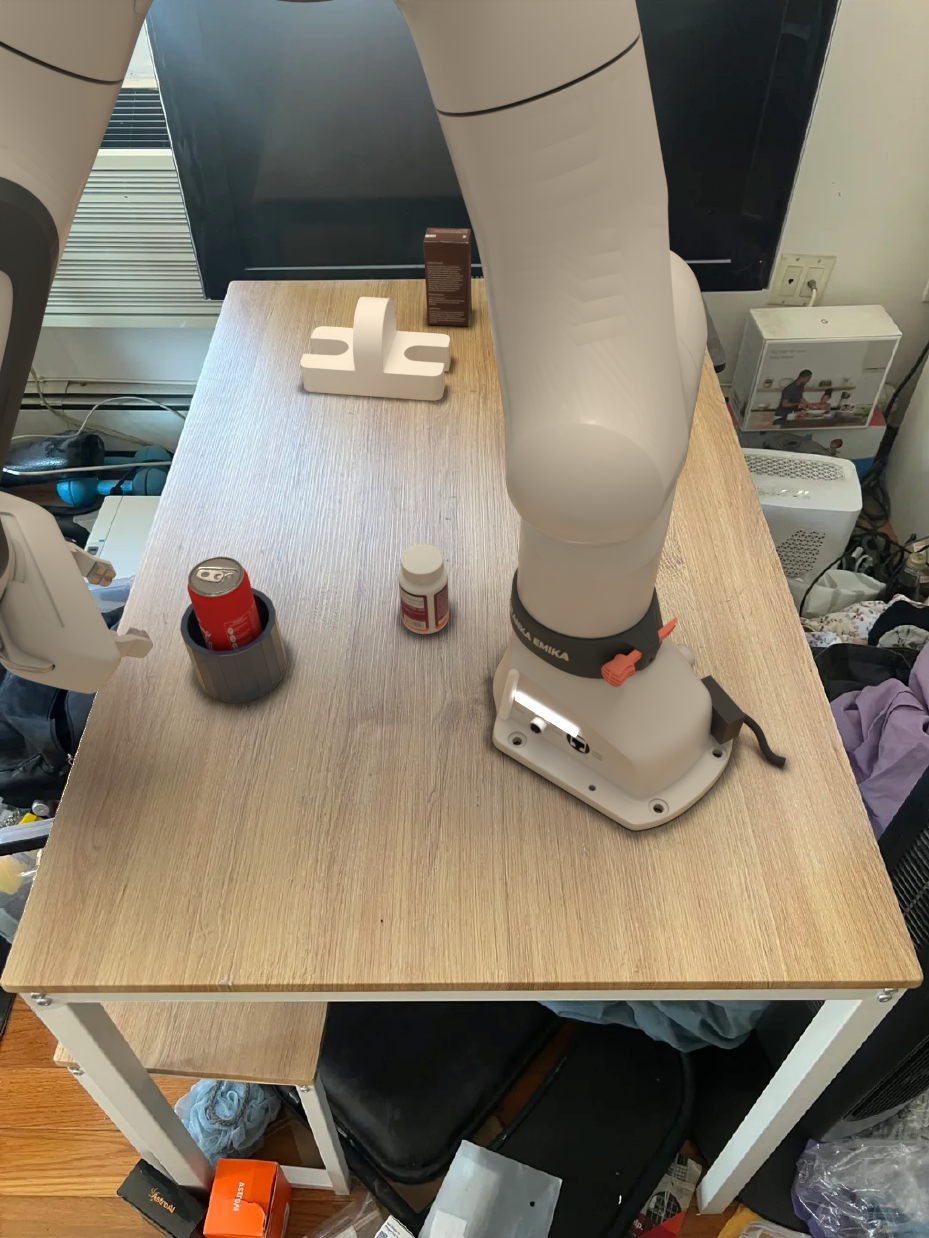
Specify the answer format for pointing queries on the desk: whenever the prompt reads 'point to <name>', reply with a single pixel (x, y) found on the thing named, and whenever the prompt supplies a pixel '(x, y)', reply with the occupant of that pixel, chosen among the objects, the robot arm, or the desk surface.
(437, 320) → the box
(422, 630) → the pill bottle
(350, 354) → the white u-slot block
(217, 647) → the beverage can
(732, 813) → the desk surface
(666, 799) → the robot arm
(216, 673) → the faceted open cup
